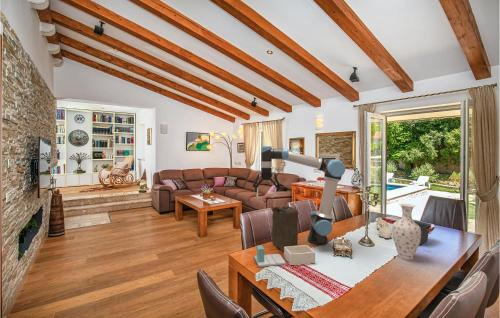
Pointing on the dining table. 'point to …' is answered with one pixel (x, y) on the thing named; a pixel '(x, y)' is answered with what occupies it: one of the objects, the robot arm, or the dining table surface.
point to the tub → (299, 254)
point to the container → (284, 227)
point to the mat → (264, 266)
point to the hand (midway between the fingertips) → (266, 196)
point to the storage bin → (424, 230)
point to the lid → (268, 258)
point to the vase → (406, 234)
